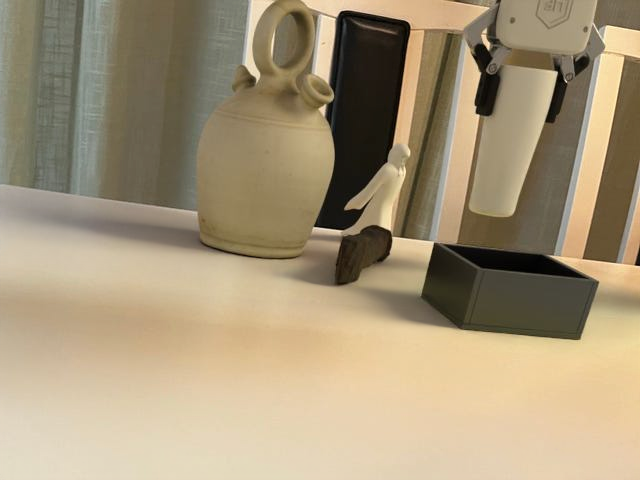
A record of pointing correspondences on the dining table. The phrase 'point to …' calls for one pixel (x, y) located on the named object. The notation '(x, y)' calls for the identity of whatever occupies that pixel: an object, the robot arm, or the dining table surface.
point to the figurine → (380, 192)
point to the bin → (508, 291)
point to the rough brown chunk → (361, 252)
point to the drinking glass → (510, 138)
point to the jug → (267, 150)
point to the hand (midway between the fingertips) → (514, 117)
